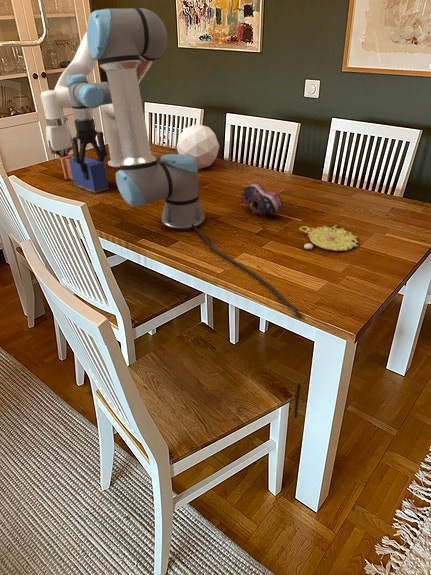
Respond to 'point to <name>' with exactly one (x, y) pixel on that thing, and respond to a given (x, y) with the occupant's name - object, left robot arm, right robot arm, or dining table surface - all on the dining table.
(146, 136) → the right robot arm
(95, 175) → the cabinet
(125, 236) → the dining table surface
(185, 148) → the sphere
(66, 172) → the drawer
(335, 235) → the decorative object
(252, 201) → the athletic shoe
